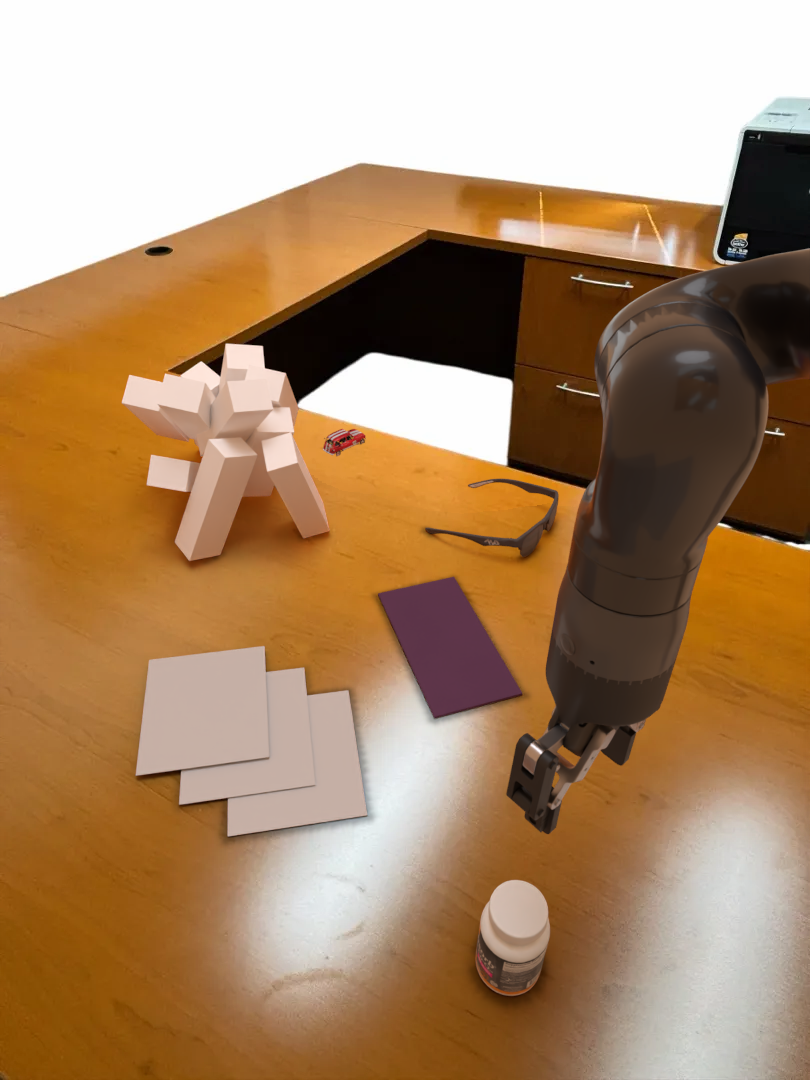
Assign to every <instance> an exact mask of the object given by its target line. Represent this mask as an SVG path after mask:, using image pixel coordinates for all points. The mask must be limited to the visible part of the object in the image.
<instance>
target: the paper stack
mask: <svg viewBox="0 0 810 1080" xmlns="http://www.w3.org/2000/svg"><path fill="white" fill-rule="evenodd" d="M266 667H267V666H266V647H265V645H261V646H252V647H245V648H235V649H227V650H218V651H209V652H203V653H195V654H186V655H178V656H170V657H161V658H153V659H148V667H147V673H146V675H147V676H146V683H145V691H144V700H143V709H142V716H141V718H142V719H141V726H140V735H139V744H138V751H137V758H136V759H137V761H136V769H135V777H136V776H144V775H151V774H152V775H153V774H159V773H165V772H173V771H180V784H179V798H178V799H179V800H178V805H179V806H181V805H189V804H195V803H202V802H207V801H215V800H221V799H223V800H224V799H227V837H235V836H241V835H248V834H253V833H261V832H266V831H267V832H269V831H273V830H281V829H288V828H292V827H293V828H294V827H300V826H307V825H313V824H314V825H315V824H319V823H326V822H333V821H339V820H345V819H352V818H353V819H354V818H359V817H365V816H368V812H367V805H366V804H367V803H366V797H365V792H364V791H365V790H364V783H363V778H362V771H361V765H360V758H359V757H360V756H359V751H358V745H357V744H358V743H357V739H356V738H357V737H356V732H355V724H354V717H353V711H352V705H351V698H350V691H349V689H348V690H347V689H346V690H339V691H331V692H324V693H315V694H308V691H307V683H306V682H307V681H306V671H305V667H296V668H287V669H280V670H272V671H266V669H267V668H266Z"/></svg>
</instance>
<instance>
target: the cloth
mask: <svg viewBox="0 0 810 1080" xmlns="http://www.w3.org/2000/svg"><path fill="white" fill-rule="evenodd" d="M377 596H378V599H379V600H380V603H381V606H382V607H383V610H384V612H385V614H386V616H387V618H388V620H389V623H390V624H391V627H392V630H393V631H394V633H395V635H396V638H397V640H398V642H399V644H400V647H401V649H402V651H403V653H404V656H405V658H406V660H407V662H408V665H409V666H410V668H411V671H412V674H413V675H414V678H415V680H416V682H417V684H418V687H419V689H420V690H421V693H422V695H423V697H424V699H425V701H426V704H427V706H428V709H429V710H430V713H431V715H432V717H433V719H439V718H442V717H446V716H450V715H453V714H457V713H462V712H464V711H465V712H466V711H469V710H472V709H476V708H479V707H483V706H487V705H491V704H494V703H498V702H499V703H500V702H501V701H506V700H509V699H513V698H517V697H520V696H523V691H522V690H521V688H520V687H519V685H518V683H517V681H516V680H515V677H514V676H513V675H512V673H511V671H510V669H509V667H508V666H507V664H506V662H505V661H504V659H503V657H502V655H501V654H500V652H499V651H498V649H497V647H496V646H495V643H494V641H492V639H491V637H490V635H489V634H488V632H487V630H486V628H485V627H484V625H483V623H482V622H481V620H480V618H479V616H478V615H477V613H476V612H475V610H474V608H473V607H472V605H471V603H470V602H469V600H468V598H467V596H466V594H465V592H464V591H463V590H462V588H461V585H460V584H459V583H458V581H457V579H456V578H455V576H451V577H446V578H442V579H437V580H433V581H428V582H423V583H419V584H415V585H409V586H405V587H401V588H396V589H391V590H387V591H382V592H379V593H377Z"/></svg>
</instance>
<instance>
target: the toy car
mask: <svg viewBox="0 0 810 1080" xmlns="http://www.w3.org/2000/svg"><path fill="white" fill-rule="evenodd" d="M323 440H325V441H324V444H323V447H322V450H323V452H325V453H326V454H329V455H330V456H334V455H335V457H339V456H341V454H342V452H344V451H346V450H347V449H350V448H352V447H354V446H357V445H359V446H361V445H363V444H366V440H367V437H366V434H365V433H363V432H362V431H360V430H358V429H356V428H351V429H349V430H346V429H343V428H340V429H338V430H336V431H333V432H332V433H330V434H328V435H327V436H326V438H325V437H324V438H323Z"/></svg>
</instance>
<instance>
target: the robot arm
mask: <svg viewBox="0 0 810 1080" xmlns="http://www.w3.org/2000/svg"><path fill="white" fill-rule="evenodd" d="M593 364H594V365H593V366H594V367H593V368H594V376H595V380H596V381H595V382H596V386H597V391H598V397H599V402H600V409H601V413H602V437H601V438H602V439H601V447H600V456H599V461H598V468H597V472H596V476H595V478H594V479H592V481H590V483H589V484H588V486H587V487H586V488H585V490H584V492H583V494H582V496H581V498H580V501H579V504H578V507H577V511H576V514H575V520H574V525H573V530H572V537H571V542H570V546H569V547H570V548H569V553H568V560H567V565H566V569H565V572H564V575H563V577H562V580H561V583H560V586H559V589H558V592H557V596H556V597H557V598H556V604H555V610H554V616H553V622H552V628H551V633H550V639H549V645H548V650H547V651H548V652H547V657H546V662H545V680H546V683H547V686H548V689H549V691H550V694H551V695H552V699H553V702H554V704H555V706H554V707H553V709H552V711H551V717H550V719H549V721H548V724H547V727H546V729H545V730H544V732H543V734H542V736H540V737H539V738H538V739H536V738H535V737H533V736H532V735H531V734H530V733H529V732H526V733H524V734H522V735H521V736H520V737H519V739H518V741H517V742H516V745H515V748H514V752H513V753H514V754H513V759H512V763H511V769H510V774H509V778H508V783H507V789H506V793H505V795H506V796H507V797H508V799H510V800H511V801H512V802H513V803H514V804H515V805H517V806H518V807H519V808H520V809H521V810H522V811H524V816H523V817H524V819H525V820H526V821H527V822H528V823H529V824H530V825H532V827H534V828H535V829H536V830H537V831H538V832H540V833H544V834H546V835H550V834H551V833H552V832H553V831H554V830H556V828H557V825H558V820H559V817H560V811H561V808H562V804H563V803H562V802H563V798H564V797H565V795H566V794H567V792H568V790H569V789H570V787H571V785H572V784H573V783H574V784H575V783H578V782H581V781H583V780H584V779H585V777H586V775H587V773H588V772H589V770H590V769H591V767H592V765H593V764H594V762H595V760H596V758H597V757H598V756H599V753H602V754H603V755H604V756H606V757H607V758H609V760H611V761H612V762H614V763H615V764H616V765H618V766H624V765H625V763H627V761H629V760H630V755H631V753H632V750H633V746H634V742H635V739H636V735H637V733H638V732H639V731H641V730H642V729H643V728H644V726H645V724H646V722H647V719H648V718H650V717H651V716H653V715H654V714H655V713H656V712H658V711H659V710H660V708H661V706H662V704H663V701H664V699H665V696H666V693H667V690H668V687H669V683H670V680H671V676H672V674H673V670H674V668H675V665H676V662H677V658H678V655H679V653H680V652H679V651H680V648H681V646H682V642H683V639H684V636H685V633H686V631H687V625H688V622H689V615H690V607H691V600H692V595H693V591H694V587H695V584H696V581H697V578H698V575H699V571H700V568H701V564H702V561H703V558H704V555H705V552H706V549H707V546H708V545H707V544H708V539H709V536H710V535H711V533H712V532H713V531H714V530H715V529H716V527H718V525H719V523H720V522H721V521H722V519H723V517H724V516H725V515H726V513H727V511H728V510H729V508H730V507H731V505H732V504H733V502H734V501H735V498H736V497H737V495H738V494H739V492H740V490H741V489H742V488H743V486H744V484H745V483H746V481H747V479H748V477H749V475H750V473H751V472H752V470H753V469H754V466H755V464H756V461H757V460H758V457H759V454H760V451H761V449H762V444H763V441H764V437H765V434H766V428H767V422H768V417H769V391H768V386H771V385H776V384H783V383H786V382H791V381H797V380H810V248H809V247H808V248H805V249H798V250H793V251H787V252H781V253H774V254H770V255H765V256H762V257H757V258H753V259H750V260H745V261H741V262H738V263H737V262H736V263H732V264H728V265H723V266H719V267H715V268H711V269H707V270H704V271H703V270H702V271H700V272H696V273H692V274H688V275H686V276H683V277H680V278H676V279H674V280H671V281H669V282H667V283H664V284H662V285H660V286H658V287H656V288H653V289H651V290H649V291H647V292H646V293H644V294H642V295H640V296H639V297H637V298H635V299H634V300H633V301H631V302H630V303H628V304H627V305H626V306H624V307H623V308H622V309H621V310H619V311H618V312H617V313H616V314H615V315H614V316H613V318H612V319H611V320H610V321H609V323H608V324H607V325H606V327H605V328H604V329H603V331H602V333H601V335H600V337H599V340H598V342H597V345H596V348H595V354H594V363H593ZM561 747H563V748H564V749H566V750H567V751H569V752H570V753H572V754H574V755H575V756H577V757H579V759H578V760H577V762H576V764H575V765H574V764H572V762H570V761H569V760H568V759H567V758H565V757H564V756H562V755H561V754H560V753H559V752H558V751H559V750H560V748H561ZM556 774H557V775H558V780H557V782H556V784H555V786H553V783H554V781H555V780H554V779H555V776H556Z"/></svg>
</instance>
